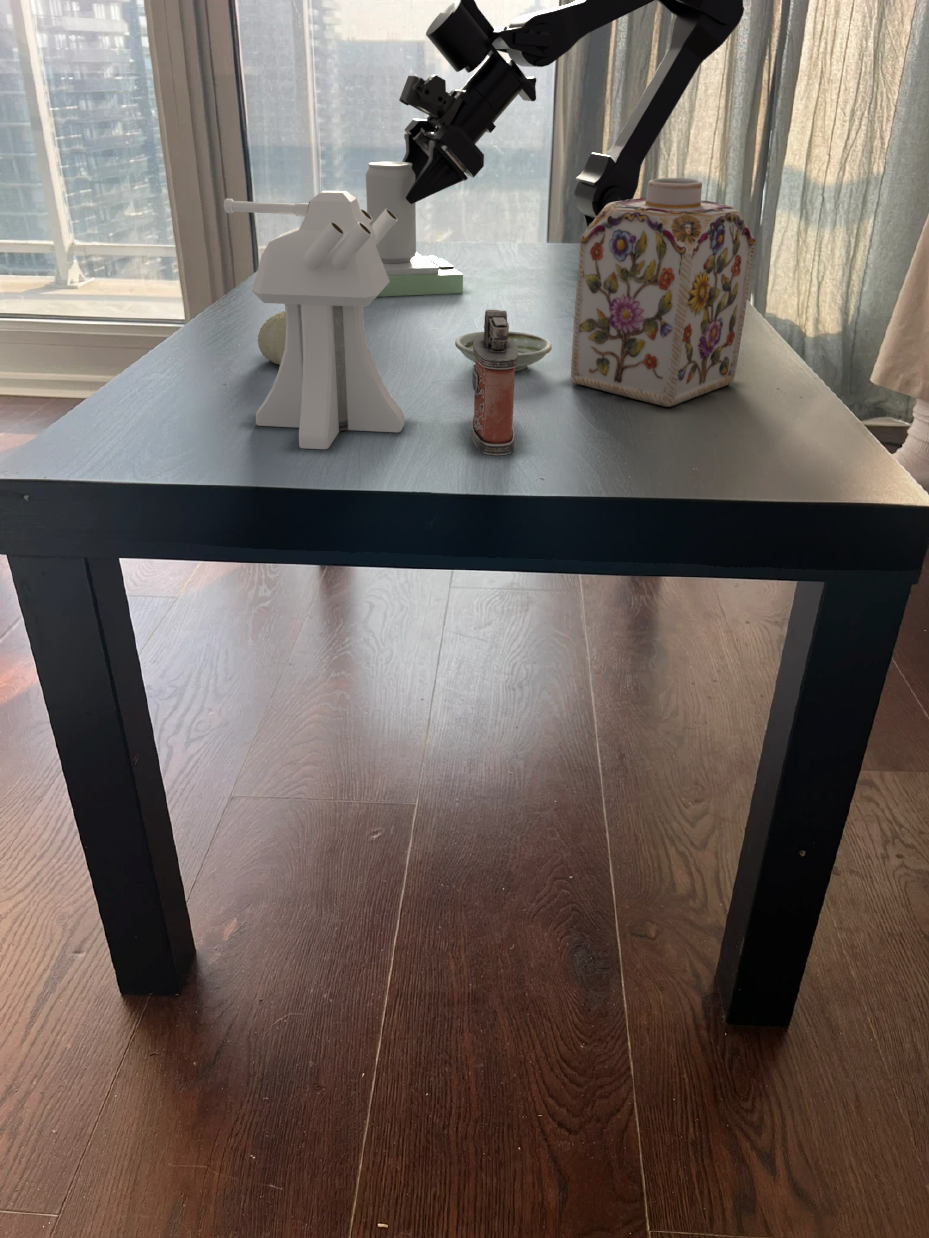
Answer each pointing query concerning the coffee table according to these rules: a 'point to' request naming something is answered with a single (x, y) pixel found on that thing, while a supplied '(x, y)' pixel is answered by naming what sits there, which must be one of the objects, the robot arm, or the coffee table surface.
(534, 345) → the saucer
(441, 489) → the coffee table surface
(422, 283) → the scale
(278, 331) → the sea urchin shell
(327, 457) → the coffee table surface
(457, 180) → the robot arm
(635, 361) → the decorative jar
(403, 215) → the beverage can
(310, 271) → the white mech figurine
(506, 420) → the lighter
